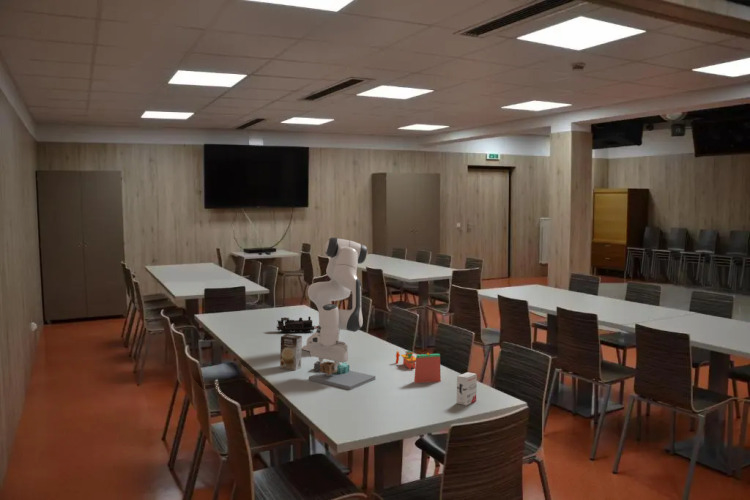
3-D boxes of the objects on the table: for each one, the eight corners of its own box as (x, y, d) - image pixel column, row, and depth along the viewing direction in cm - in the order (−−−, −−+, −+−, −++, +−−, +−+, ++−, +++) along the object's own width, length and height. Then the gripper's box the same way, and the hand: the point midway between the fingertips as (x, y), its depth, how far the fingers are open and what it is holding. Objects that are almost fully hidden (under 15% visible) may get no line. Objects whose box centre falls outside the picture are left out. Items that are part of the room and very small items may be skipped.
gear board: (308, 379, 273) (308, 368, 273) (335, 370, 290) (335, 359, 289) (350, 389, 260) (350, 377, 259) (375, 379, 277) (375, 367, 276)
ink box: (466, 398, 252) (467, 371, 251) (476, 401, 249) (477, 373, 248) (455, 403, 246) (456, 375, 245) (465, 406, 243) (467, 377, 242)
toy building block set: (415, 383, 273) (416, 353, 271) (392, 363, 306) (393, 336, 305) (440, 381, 276) (441, 352, 275) (415, 361, 309) (416, 335, 308)
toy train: (316, 333, 370) (316, 317, 370) (276, 334, 366) (276, 318, 365) (315, 330, 378) (315, 315, 377) (276, 331, 374) (276, 315, 373)
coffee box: (279, 368, 291) (279, 336, 290) (285, 365, 297) (285, 333, 296) (296, 370, 288) (296, 338, 287) (301, 367, 294) (302, 335, 293)
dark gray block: (314, 370, 288) (314, 363, 288) (317, 368, 293) (317, 361, 292) (323, 371, 287) (323, 364, 286) (326, 369, 291) (326, 362, 291)
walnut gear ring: (319, 372, 274) (319, 364, 273) (328, 369, 280) (328, 360, 279) (328, 374, 271) (328, 366, 270) (338, 371, 277) (338, 362, 276)
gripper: (351, 341, 271) (350, 370, 272) (316, 335, 282) (316, 363, 283) (343, 343, 266) (342, 373, 267) (308, 337, 277) (307, 366, 278)
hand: (328, 368), depth 275 cm, fingers closed on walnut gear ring, 6 cm apart
